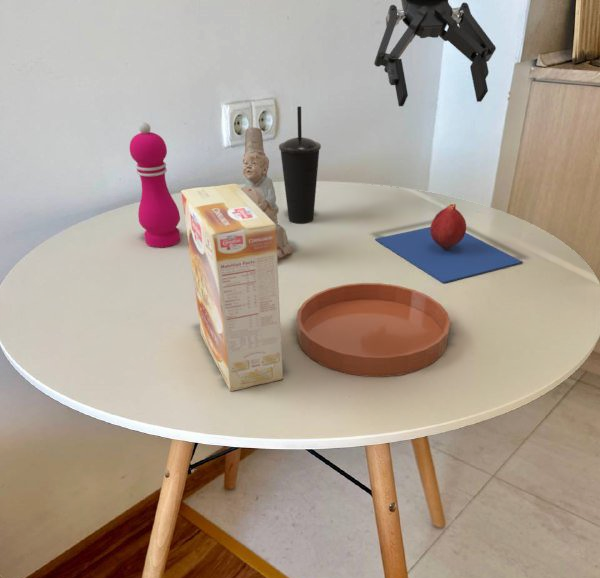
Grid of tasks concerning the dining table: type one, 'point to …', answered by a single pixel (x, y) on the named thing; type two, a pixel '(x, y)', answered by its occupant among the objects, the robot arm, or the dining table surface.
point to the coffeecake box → (235, 283)
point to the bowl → (372, 329)
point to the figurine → (262, 185)
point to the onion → (448, 227)
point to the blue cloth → (447, 255)
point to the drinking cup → (300, 175)
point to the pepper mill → (154, 190)
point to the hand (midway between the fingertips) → (443, 98)
